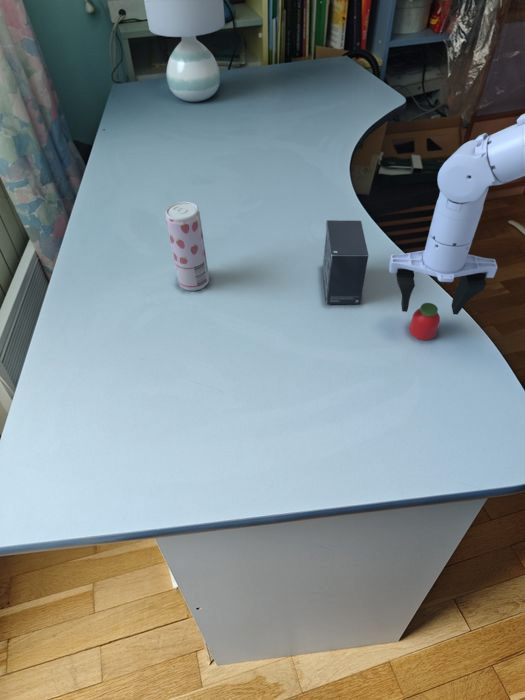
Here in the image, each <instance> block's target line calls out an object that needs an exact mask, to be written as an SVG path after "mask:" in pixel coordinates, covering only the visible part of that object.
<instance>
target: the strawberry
mask: <svg viewBox="0 0 525 700" xmlns="http://www.w3.org/2000/svg"><path fill="white" fill-rule="evenodd" d="M438 311H439V308H438V306H437V305H436V304H434V303H431V302H424V303H422V304H421V305H420V308H417V310H415V311H414V313H413V315H412V318H411V320H410V325H409V328H408V329H409V333H410V334H411V336H412V337H414V338H415V339H417V340H420V341H429V340H433V339H434V338H435V337H436V335H437V332H438V328H439V326H440V321H441V318H440V317H441V316H440V314H439V312H438Z"/></svg>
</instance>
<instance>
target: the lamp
mask: <svg viewBox="0 0 525 700" xmlns="http://www.w3.org/2000/svg"><path fill="white" fill-rule="evenodd" d="M143 3H144V8H145V14H146V19H147V25H148V30H149V31H150V32H151V33H152V34H154V35H156V36H157V35H158V36H162V37H171V38H181V39H180V40H181V41H180V42H179V43H178V44H177V45H176V46H175V48H174V49H173V50H172V52H171V54H170V56H169V58H168V61H167V65H166V71H165V72H166V82H167V85H168V88H169V89H170V92H171V93H172V94H173V95H174V96H175V97H176V98H178V99H180V100H182V101H186V102H188V103H197V102H198V103H199V102H203V101H206V100H208V99H211V97H213V96H214V95H215V94H216V92H217V91H218V90H219V87H220V84H221V71H220V67H219V65H218V62H217V60H216V58H215V56H214V55H213V53H212V52H211V51H210V49H208V48H207V47H206V46H205V45H204V44H203V43H202V42H200V41H199V40H198V39H197V36H203V35H207V34H211V33H212V34H213V33H214V32H218V31H219V30H221V29H222V28H224V27H225V25H226V22H225V20H226V19H225V9H224V0H143Z"/></svg>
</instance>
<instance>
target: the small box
mask: <svg viewBox="0 0 525 700" xmlns="http://www.w3.org/2000/svg"><path fill="white" fill-rule="evenodd" d="M325 223H326V225H325V226H326V227H325V228H326V229H325V230H326V231H325V238H324V239H325V240H324V248H323V249H324V251H323V259H322V268H321V269H322V271H321V272H322V282H323V292H324V293H323V294H324V301H325V302H324V303H325V304H326V305H361V303H362V302H361V301H362V296H363V290H364V283H365V279H366V273H367V266H368V262H369V256H370V255H369V251H368V247H367V246H368V245H367V242H366V237H365V232H364V228H363V223H362V221H361V220H337V219H336V220H335V219H334V220H332V219H330V220H326V222H325Z"/></svg>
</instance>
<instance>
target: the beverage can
mask: <svg viewBox="0 0 525 700" xmlns="http://www.w3.org/2000/svg"><path fill="white" fill-rule="evenodd" d="M201 219H202V218H201V213H200V210H199V207H198V206H197V205H196V204H195V203H194V202H190V201H178V202H174V203H172V204H170V205H169V206H168V207H167V208H166V210H165V221H166V225H167V231H168V236H169V241H170V246H171V251H172V256H173V262H174V266H175V272H176V277H177V282H178V285H179V286H180V287H181V288H182V289H184V290H186V291H189V292H190V291H191V292H192V291H199V290H202V289H203V288H206V286H207V285H208V284H209V282H210V275H209V267H208V261H207V253H206V248H205V247H206V246H205V240H204V233H203V226H202V220H201Z"/></svg>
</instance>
